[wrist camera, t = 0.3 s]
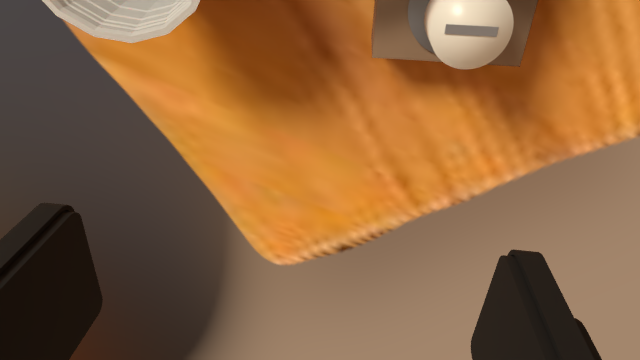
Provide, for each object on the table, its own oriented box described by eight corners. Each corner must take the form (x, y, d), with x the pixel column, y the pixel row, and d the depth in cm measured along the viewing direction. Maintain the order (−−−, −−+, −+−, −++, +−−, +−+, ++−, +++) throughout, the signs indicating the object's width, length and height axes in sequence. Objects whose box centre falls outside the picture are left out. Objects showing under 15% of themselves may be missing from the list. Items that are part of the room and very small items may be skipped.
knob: (430, -25, 26) (437, -15, 24) (508, -21, 26) (523, -11, 24) (419, 51, 29) (424, 67, 26) (490, 55, 29) (502, 72, 26)
